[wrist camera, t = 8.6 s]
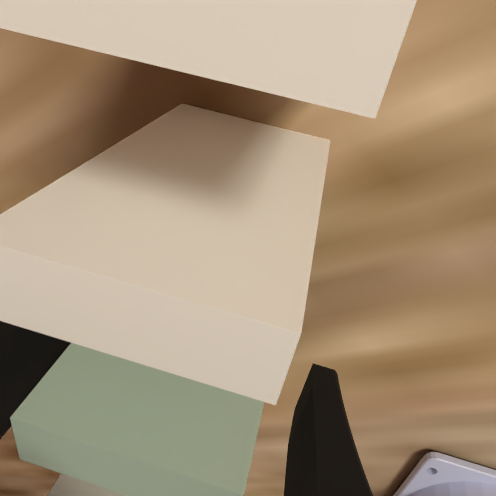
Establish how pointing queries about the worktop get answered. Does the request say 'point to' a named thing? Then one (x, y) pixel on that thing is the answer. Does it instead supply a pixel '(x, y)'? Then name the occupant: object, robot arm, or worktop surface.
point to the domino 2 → (175, 250)
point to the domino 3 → (137, 428)
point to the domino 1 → (239, 41)
